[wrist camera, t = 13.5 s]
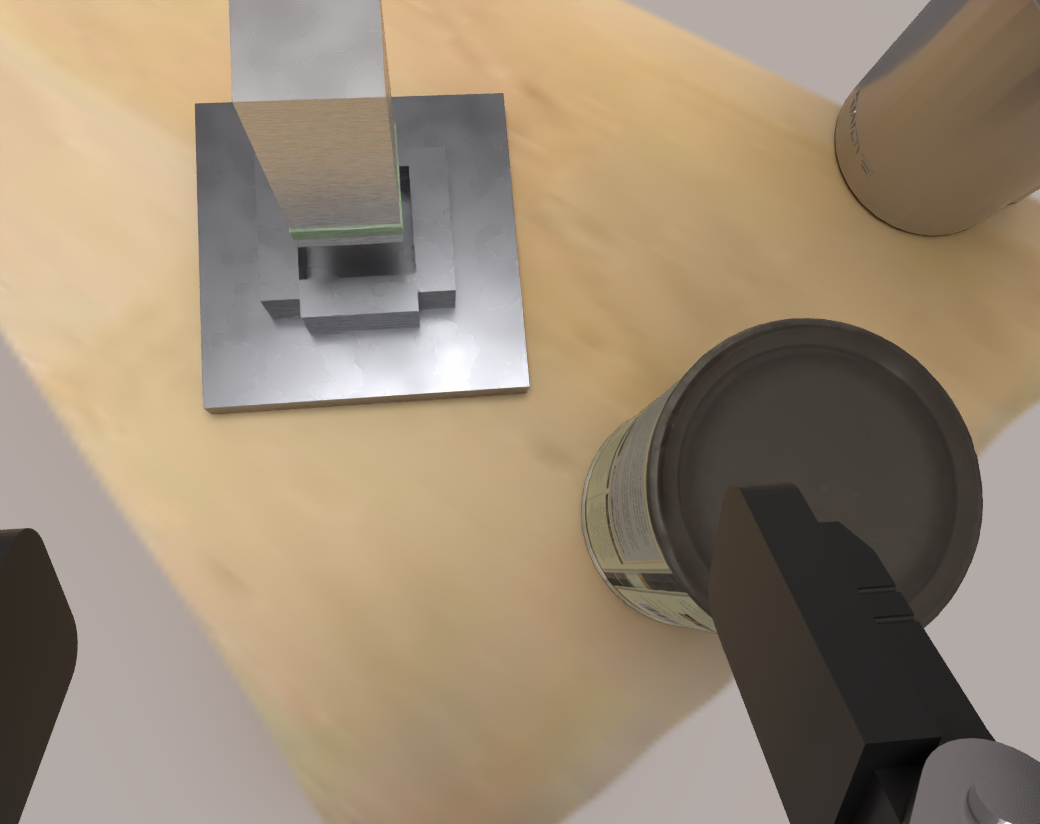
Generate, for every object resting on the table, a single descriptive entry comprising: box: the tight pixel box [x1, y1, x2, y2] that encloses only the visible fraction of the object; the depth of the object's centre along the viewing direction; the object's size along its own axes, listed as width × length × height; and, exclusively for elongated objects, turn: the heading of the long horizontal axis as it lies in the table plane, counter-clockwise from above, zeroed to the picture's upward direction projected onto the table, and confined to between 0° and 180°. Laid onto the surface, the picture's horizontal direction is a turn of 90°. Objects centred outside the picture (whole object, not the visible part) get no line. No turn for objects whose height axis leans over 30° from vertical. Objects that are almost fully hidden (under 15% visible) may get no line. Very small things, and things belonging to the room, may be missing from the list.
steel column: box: [229, 0, 404, 247], centre depth 29 cm, size 4×4×11 cm
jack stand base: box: [195, 93, 529, 414], centre depth 37 cm, size 14×14×8 cm
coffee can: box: [582, 318, 983, 634], centre depth 33 cm, size 10×10×14 cm
